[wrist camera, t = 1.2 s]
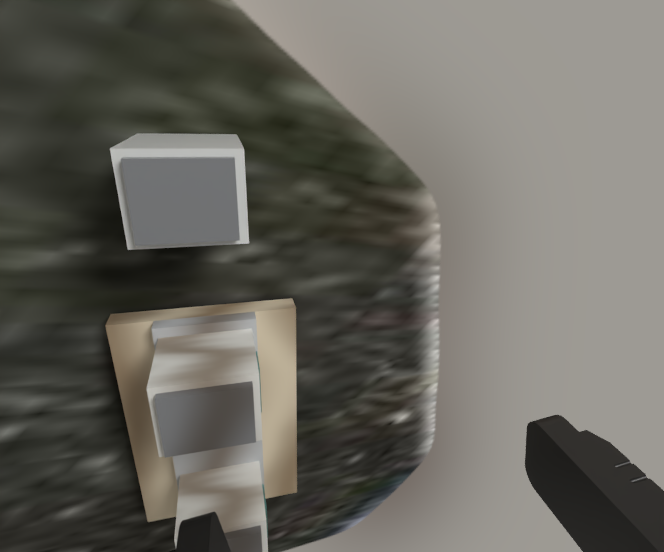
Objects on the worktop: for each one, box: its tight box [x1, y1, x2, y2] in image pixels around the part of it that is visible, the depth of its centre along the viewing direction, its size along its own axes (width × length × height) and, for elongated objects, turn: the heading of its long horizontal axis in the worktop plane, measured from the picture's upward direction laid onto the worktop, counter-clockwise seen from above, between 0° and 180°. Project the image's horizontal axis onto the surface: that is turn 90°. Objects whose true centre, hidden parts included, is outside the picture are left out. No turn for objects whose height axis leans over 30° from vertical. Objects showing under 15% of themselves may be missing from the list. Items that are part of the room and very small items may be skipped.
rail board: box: [105, 298, 297, 552], centre depth 29 cm, size 12×18×8 cm, turn 179°
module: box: [110, 133, 249, 250], centre depth 22 cm, size 6×4×8 cm
